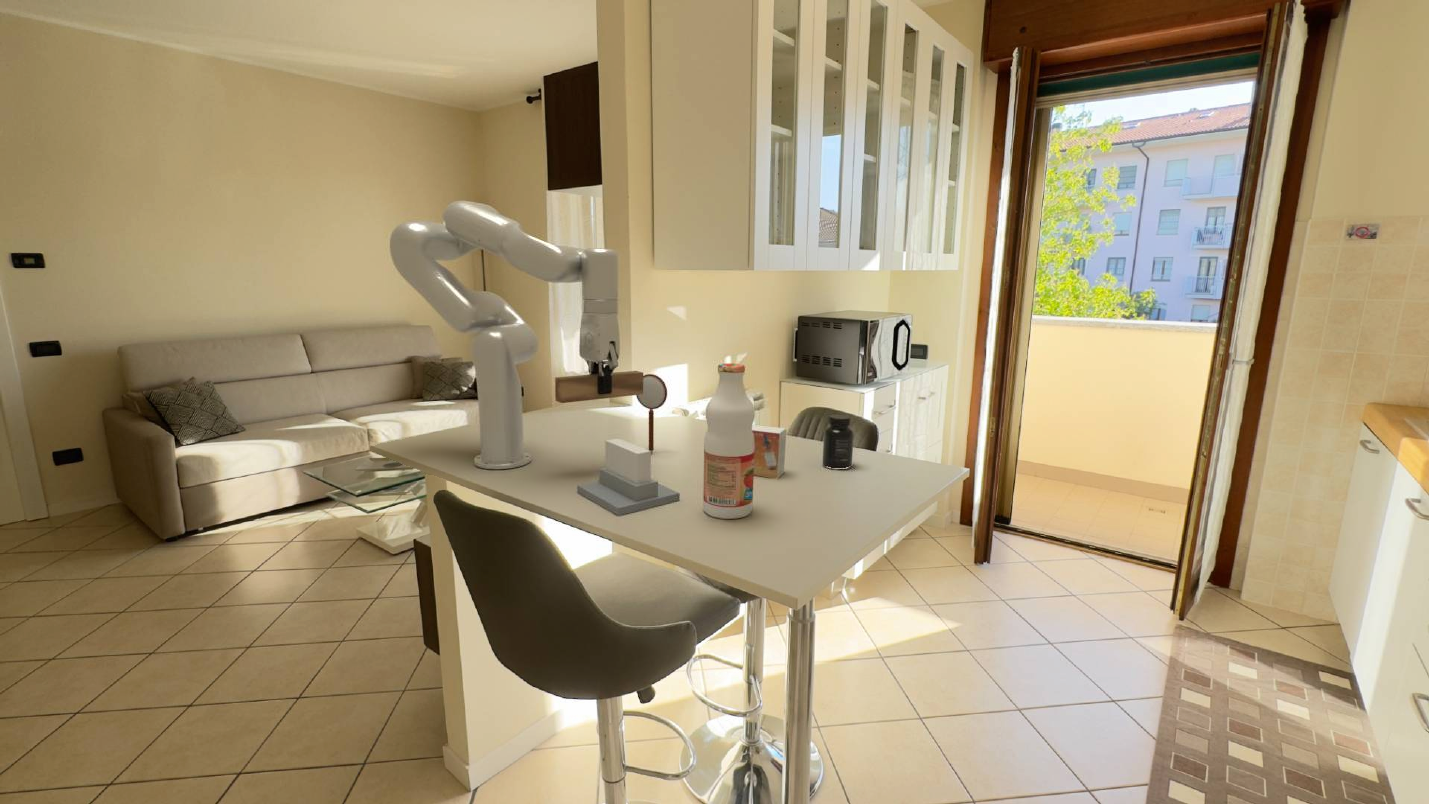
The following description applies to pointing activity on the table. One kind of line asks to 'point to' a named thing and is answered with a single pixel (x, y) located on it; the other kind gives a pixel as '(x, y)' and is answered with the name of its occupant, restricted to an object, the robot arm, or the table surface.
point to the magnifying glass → (652, 400)
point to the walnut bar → (588, 386)
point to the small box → (769, 451)
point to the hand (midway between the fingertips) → (600, 391)
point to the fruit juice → (729, 447)
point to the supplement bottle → (838, 442)
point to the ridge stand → (627, 481)
